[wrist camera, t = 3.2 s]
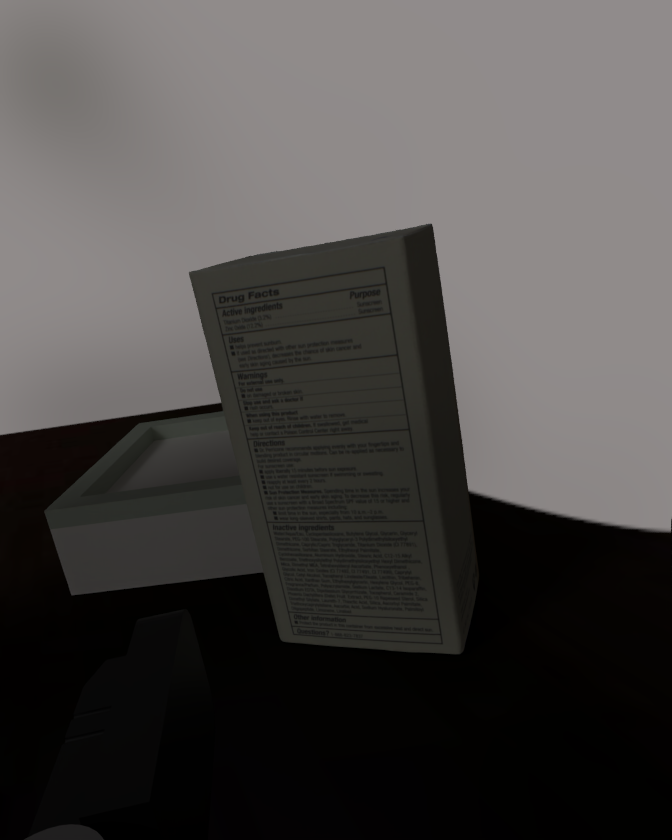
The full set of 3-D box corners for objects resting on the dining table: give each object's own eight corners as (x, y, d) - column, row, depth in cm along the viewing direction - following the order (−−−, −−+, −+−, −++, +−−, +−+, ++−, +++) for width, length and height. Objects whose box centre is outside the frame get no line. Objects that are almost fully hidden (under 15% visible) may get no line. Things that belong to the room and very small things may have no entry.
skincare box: (481, 580, 22) (444, 220, 19) (463, 665, 18) (412, 231, 15) (316, 572, 25) (254, 250, 21) (268, 647, 21) (182, 266, 17)
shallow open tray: (71, 595, 26) (44, 511, 25) (155, 486, 36) (138, 423, 35) (339, 563, 25) (323, 474, 24) (346, 460, 35) (335, 395, 34)
